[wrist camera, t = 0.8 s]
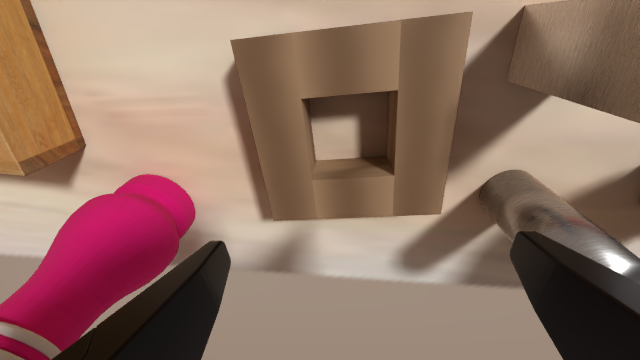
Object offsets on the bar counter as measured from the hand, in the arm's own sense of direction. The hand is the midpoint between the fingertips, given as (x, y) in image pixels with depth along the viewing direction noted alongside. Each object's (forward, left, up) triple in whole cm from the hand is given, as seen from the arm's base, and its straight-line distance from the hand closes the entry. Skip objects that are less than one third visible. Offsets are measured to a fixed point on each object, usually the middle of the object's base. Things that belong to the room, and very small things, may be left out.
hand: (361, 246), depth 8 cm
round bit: (-12, +6, -12) cm, 18 cm away
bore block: (0, 0, -12) cm, 12 cm away
